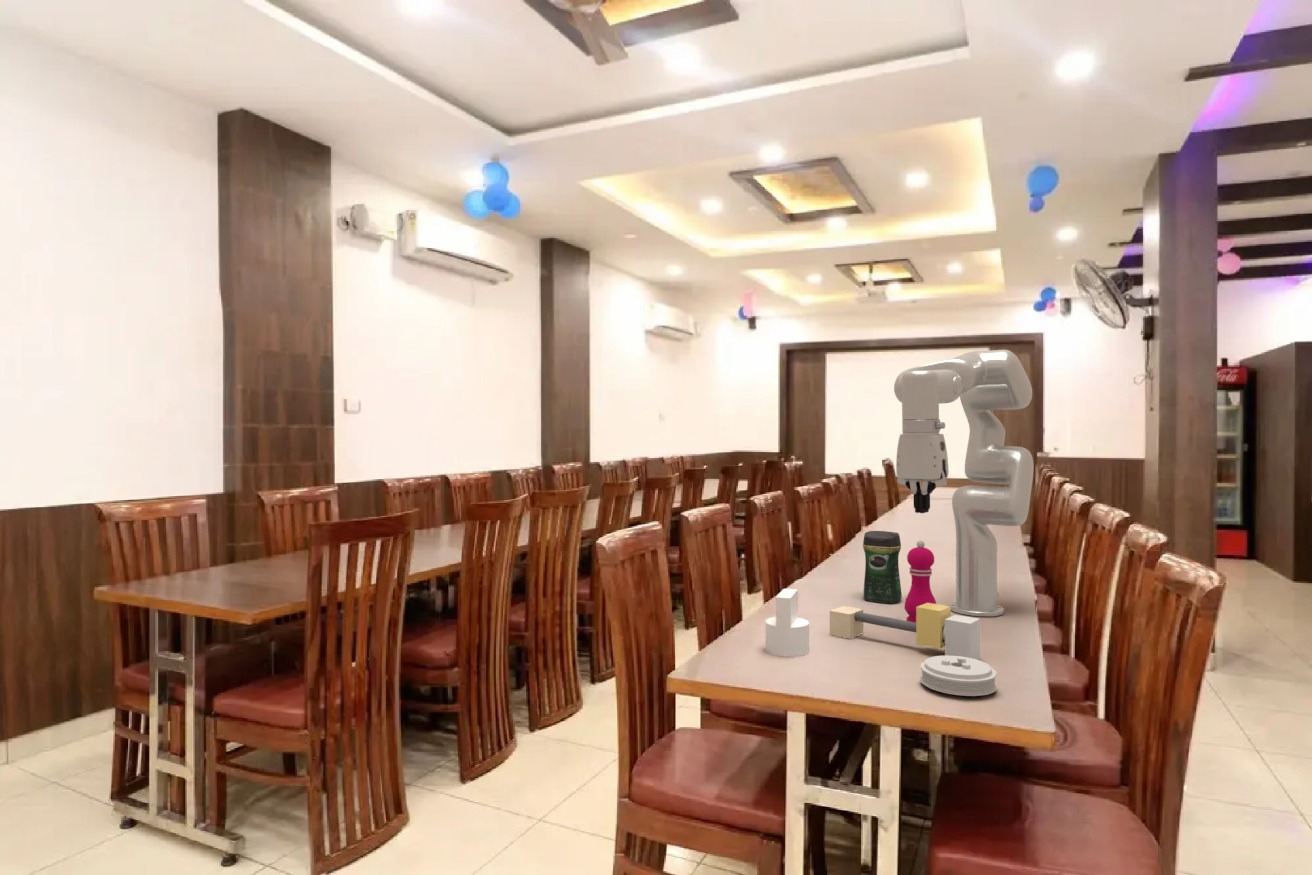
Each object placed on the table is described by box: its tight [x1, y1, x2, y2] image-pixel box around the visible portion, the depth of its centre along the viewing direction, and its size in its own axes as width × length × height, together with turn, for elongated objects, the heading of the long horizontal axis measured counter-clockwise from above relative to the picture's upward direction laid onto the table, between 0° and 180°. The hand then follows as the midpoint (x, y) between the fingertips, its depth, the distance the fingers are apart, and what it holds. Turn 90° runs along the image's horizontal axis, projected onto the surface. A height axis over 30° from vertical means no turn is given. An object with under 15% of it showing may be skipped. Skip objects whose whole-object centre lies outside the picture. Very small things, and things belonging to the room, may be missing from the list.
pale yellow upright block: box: [915, 603, 952, 650], centre depth 156 cm, size 5×5×8 cm
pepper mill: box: [903, 540, 937, 623], centre depth 176 cm, size 7×7×20 cm
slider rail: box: [829, 605, 981, 660], centre depth 160 cm, size 6×31×8 cm, turn 46°
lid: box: [919, 655, 998, 697], centre depth 135 cm, size 13×13×5 cm
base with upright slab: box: [765, 588, 810, 658], centre depth 158 cm, size 9×9×12 cm
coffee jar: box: [862, 530, 902, 604], centre depth 202 cm, size 10×8×19 cm
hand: (921, 512), depth 164 cm, fingers closed
